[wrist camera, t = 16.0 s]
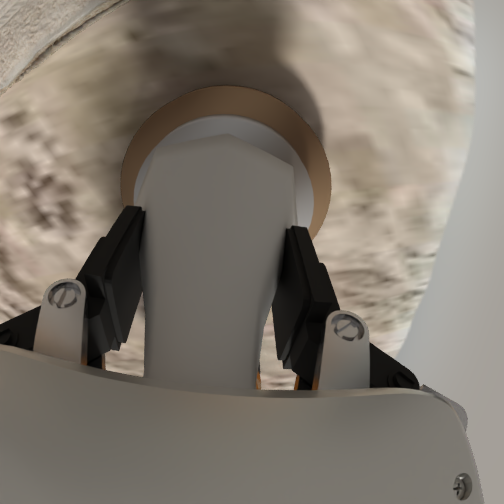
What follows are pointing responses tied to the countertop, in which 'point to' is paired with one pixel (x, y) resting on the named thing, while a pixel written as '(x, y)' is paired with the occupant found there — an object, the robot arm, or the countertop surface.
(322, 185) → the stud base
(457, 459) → the robot arm
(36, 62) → the washcloth
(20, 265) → the countertop surface
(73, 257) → the countertop surface
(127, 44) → the countertop surface
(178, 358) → the flask
